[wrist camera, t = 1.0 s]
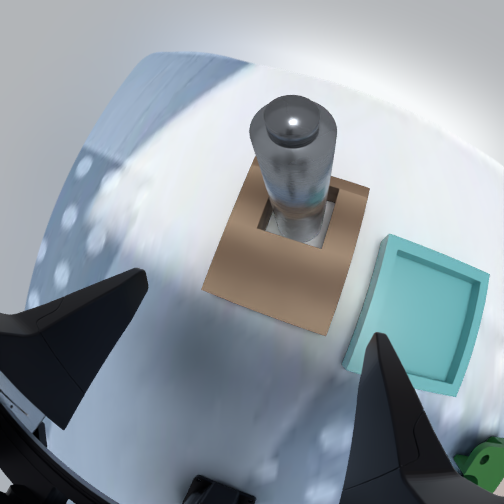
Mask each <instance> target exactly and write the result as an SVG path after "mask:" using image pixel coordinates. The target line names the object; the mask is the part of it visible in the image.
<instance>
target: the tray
mask: <svg viewBox="0 0 504 504" xmlns="http://www.w3.org/2000/svg"><path fill="white" fill-rule="evenodd" d="M489 276H490V274H488V273H486V272H484V271H481V270H479V269H477V268H475V267H472V266H470V265H468V264H465V263H463V262H461V261H458V260H456V259H454V258H451V257H449V256H446V255H444V254H442V253H439V252H437V251H434V250H432V249H429V248H426V247H424V246H421V245H419V244H416V243H414V242H411V241H408V240H406V239H403V238H400V237H397V236H395V235H392V234H388V235H387V236H386V237H385V238H384V239H383V240H382V241H381V245H380V249H379V253H378V257H377V261H376V264H375V268H374V272H373V275H372V279H371V282H370V286H369V289H368V292H367V295H366V299H365V302H364V305H363V308H362V311H361V314H360V317H359V320H358V323H357V326H356V328H355V331H354V334H353V337H352V339H351V342H350V345H349V347H348V350H347V353H346V355H345V358H344V360H343V363H342V365H343V367H344V368H345V369H346V370H347V371H350V372H354V373H357V374H361V372H362V367H363V361H364V355H365V350H366V347H367V345H368V343H369V341H370V340H371V338H372V336H373V334H374V333H375V332H381V333H385V334H386V335H387V336H388V338H389V340H390V342H391V344H392V346H393V347H394V349H395V351H396V353H397V355H398V357H399V359H400V361H401V363H402V365H403V367H404V369H405V371H406V373H407V375H408V377H409V379H410V381H411V383H412V385H413V387H414V388H415V389H419V390H423V391H428V392H433V393H438V394H443V395H448V396H453V397H456V396H457V393H458V391H459V388H460V386H461V383H462V381H463V378H464V375H465V373H466V370H467V367H468V364H469V361H470V358H471V355H472V352H473V348H474V345H475V341H476V338H477V334H478V330H479V327H480V323H481V318H482V314H483V309H484V305H485V300H486V294H487V289H488V282H489Z"/></svg>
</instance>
